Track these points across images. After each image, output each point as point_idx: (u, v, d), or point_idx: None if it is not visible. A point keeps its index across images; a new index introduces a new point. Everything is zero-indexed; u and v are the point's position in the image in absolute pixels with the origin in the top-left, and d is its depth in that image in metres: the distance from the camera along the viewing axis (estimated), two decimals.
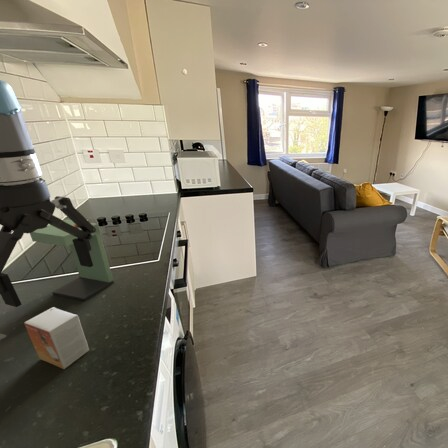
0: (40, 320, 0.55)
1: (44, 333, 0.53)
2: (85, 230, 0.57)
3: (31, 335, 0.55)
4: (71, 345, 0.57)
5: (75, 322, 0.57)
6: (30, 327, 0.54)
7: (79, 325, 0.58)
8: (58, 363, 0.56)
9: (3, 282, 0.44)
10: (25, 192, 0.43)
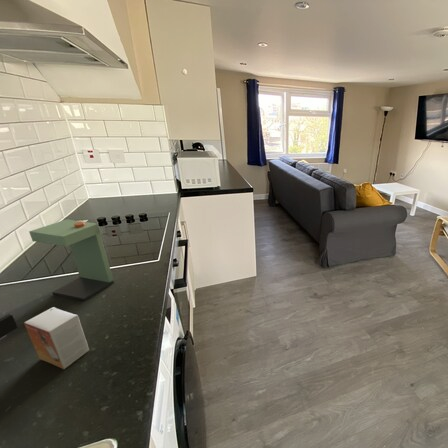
0: (40, 320, 0.55)
1: (44, 333, 0.53)
2: None
3: (31, 335, 0.55)
4: (71, 345, 0.57)
5: (75, 322, 0.57)
6: (30, 327, 0.54)
7: (79, 325, 0.58)
8: (58, 363, 0.56)
9: None
10: None
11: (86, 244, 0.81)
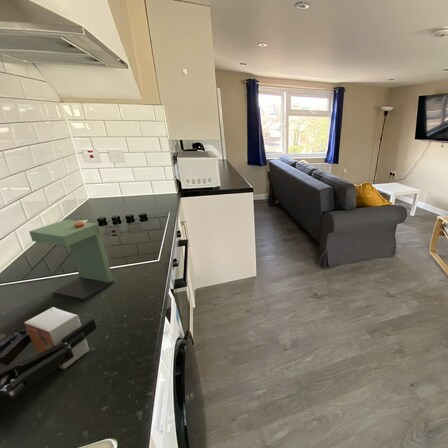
0: (40, 320, 0.55)
1: (44, 333, 0.53)
2: None
3: (31, 335, 0.55)
4: None
5: (75, 322, 0.57)
6: (30, 327, 0.54)
7: (79, 325, 0.58)
8: None
9: None
10: None
11: (86, 244, 0.81)
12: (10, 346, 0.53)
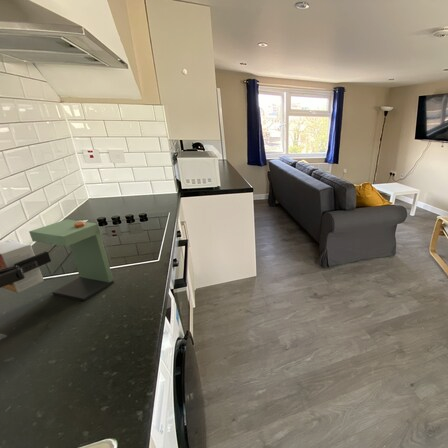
0: None
1: None
2: None
3: None
4: None
5: (28, 251, 0.63)
6: None
7: (32, 254, 0.64)
8: (12, 287, 0.62)
9: None
10: None
11: (86, 244, 0.81)
12: None
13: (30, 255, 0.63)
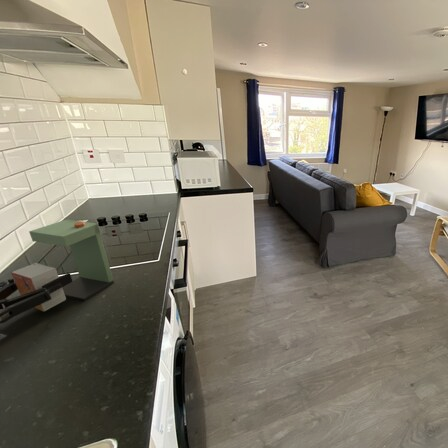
0: (24, 271, 0.68)
1: (27, 279, 0.66)
2: None
3: (17, 283, 0.68)
4: None
5: (53, 273, 0.70)
6: (16, 275, 0.67)
7: (57, 277, 0.71)
8: (39, 306, 0.69)
9: None
10: None
11: (86, 244, 0.81)
12: (0, 290, 0.66)
13: (55, 277, 0.70)
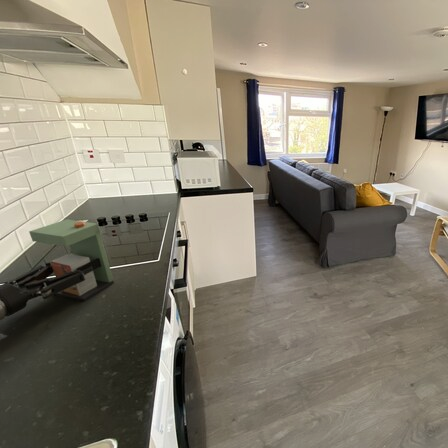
0: (62, 260, 0.76)
1: (66, 267, 0.75)
2: None
3: (55, 271, 0.77)
4: (85, 279, 0.78)
5: (87, 262, 0.78)
6: (55, 264, 0.75)
7: None
8: (75, 291, 0.77)
9: None
10: None
11: (86, 244, 0.81)
12: (40, 271, 0.74)
13: None
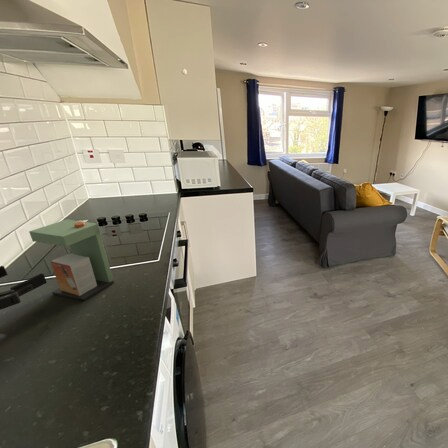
0: (62, 260, 0.76)
1: (66, 267, 0.75)
2: (11, 299, 0.60)
3: (55, 271, 0.77)
4: (85, 279, 0.78)
5: (87, 262, 0.78)
6: (55, 264, 0.75)
7: (90, 265, 0.79)
8: (75, 291, 0.77)
9: None
10: None
11: (86, 244, 0.81)
12: None
13: (88, 265, 0.79)
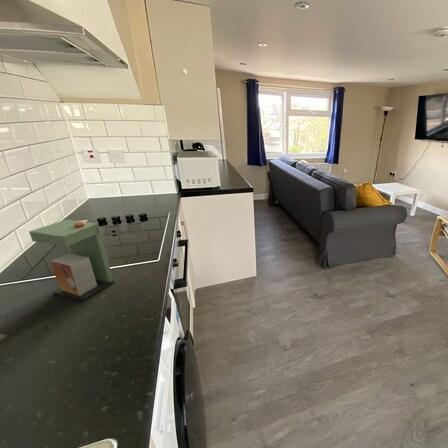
0: (62, 260, 0.76)
1: (66, 267, 0.75)
2: None
3: (55, 271, 0.77)
4: (85, 279, 0.78)
5: (87, 262, 0.78)
6: (55, 264, 0.75)
7: (90, 265, 0.79)
8: (75, 291, 0.77)
9: None
10: None
11: (86, 244, 0.81)
12: None
13: (88, 265, 0.79)
